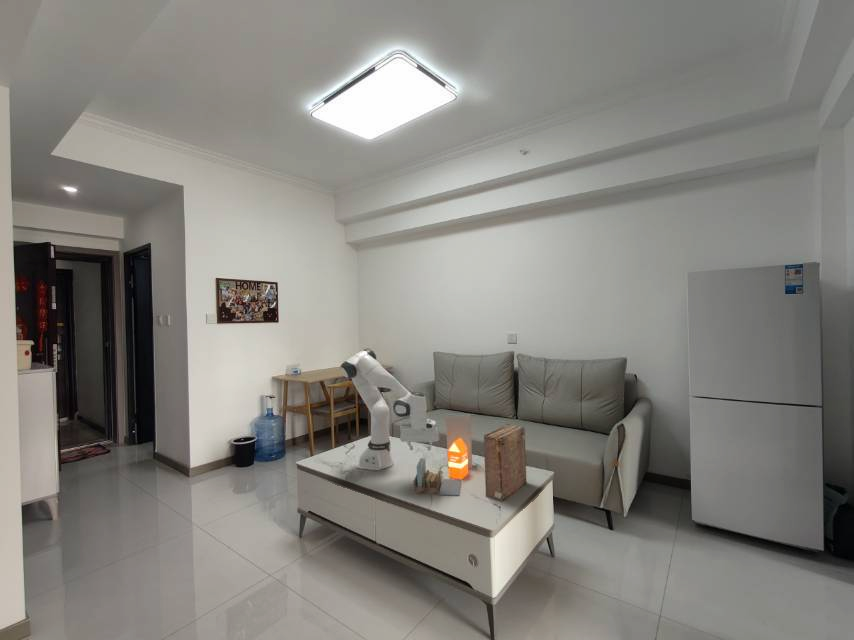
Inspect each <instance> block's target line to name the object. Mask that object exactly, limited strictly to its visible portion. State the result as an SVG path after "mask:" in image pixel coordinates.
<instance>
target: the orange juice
mask: <svg viewBox="0 0 854 640" xmlns="http://www.w3.org/2000/svg"><path fill="white" fill-rule="evenodd" d="M448 460H449V468H448V478H451V477H452V478H451V479H457V480H463V479H465V477H466V476H467V475H468V474H469V468H468V458H467V447H466V446H465V444H464V442H463V441H462V439H461V438H459V439H458V440H456V441H455V442H454V443H453V444H452V446H451V447H450V449H449V450H448V456H447V461H448Z"/></svg>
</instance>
